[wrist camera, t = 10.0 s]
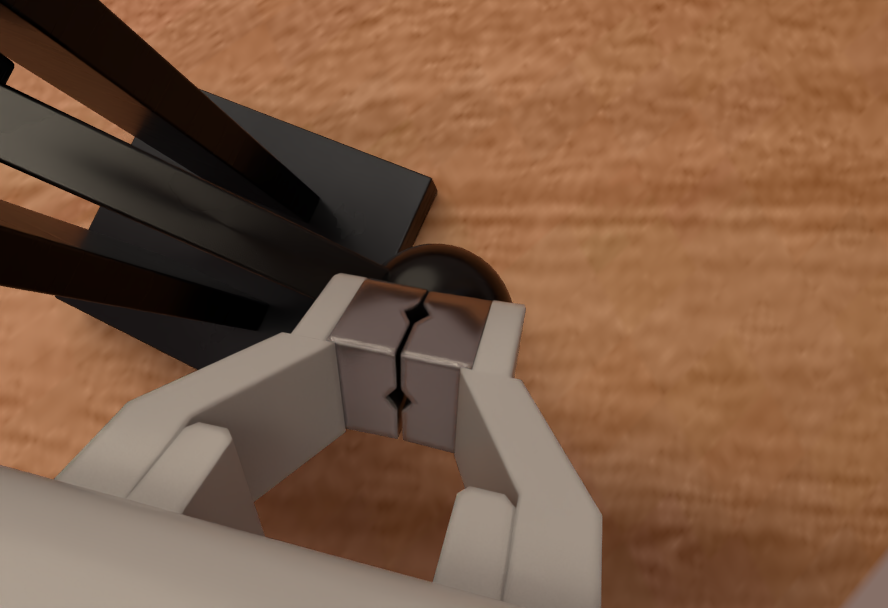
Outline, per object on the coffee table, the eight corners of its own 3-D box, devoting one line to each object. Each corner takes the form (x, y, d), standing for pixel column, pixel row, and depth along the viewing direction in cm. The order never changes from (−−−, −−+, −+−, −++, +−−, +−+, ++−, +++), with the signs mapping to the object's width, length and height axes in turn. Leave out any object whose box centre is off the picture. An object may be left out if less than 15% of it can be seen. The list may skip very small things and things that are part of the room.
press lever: (499, 281, 13) (569, 287, 10) (446, 402, 13) (501, 446, 10) (-143, -45, 9) (-356, -205, 6) (-238, 126, 9) (-509, 50, 6)
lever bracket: (438, 190, 19) (216, -299, 5) (330, 427, 18) (-237, 569, 5) (185, 92, 21) (-444, -439, 7) (80, 302, 20) (-815, 146, 7)
